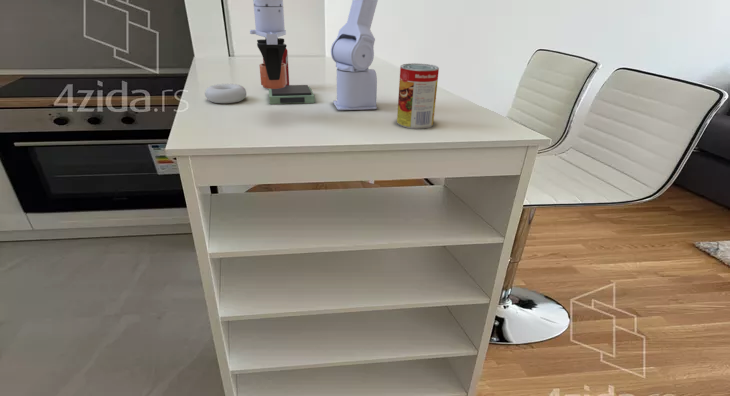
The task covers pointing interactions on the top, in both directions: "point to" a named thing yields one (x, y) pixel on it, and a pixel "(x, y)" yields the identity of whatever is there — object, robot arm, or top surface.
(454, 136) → the top surface
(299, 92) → the scale
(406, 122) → the canned food
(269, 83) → the orange cup
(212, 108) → the top surface
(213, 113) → the top surface
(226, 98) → the donut
